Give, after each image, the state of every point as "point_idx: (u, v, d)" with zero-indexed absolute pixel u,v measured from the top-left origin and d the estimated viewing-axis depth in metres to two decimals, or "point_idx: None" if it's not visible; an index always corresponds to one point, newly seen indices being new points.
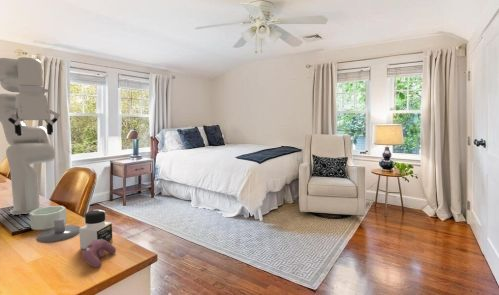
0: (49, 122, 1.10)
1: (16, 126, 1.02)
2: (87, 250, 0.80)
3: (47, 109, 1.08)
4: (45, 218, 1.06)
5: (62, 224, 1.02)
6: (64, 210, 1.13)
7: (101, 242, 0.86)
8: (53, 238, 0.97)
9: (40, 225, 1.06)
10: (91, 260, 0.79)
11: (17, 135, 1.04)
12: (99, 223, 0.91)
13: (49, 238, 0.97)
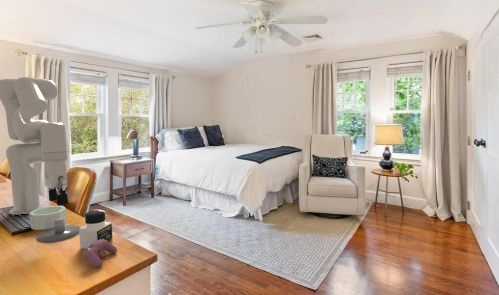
0: None
1: (65, 195, 0.98)
2: (88, 250, 0.80)
3: None
4: (45, 218, 1.06)
5: (62, 224, 1.02)
6: (64, 210, 1.13)
7: (102, 242, 0.86)
8: (53, 238, 0.97)
9: (40, 225, 1.06)
10: (92, 260, 0.79)
11: (59, 205, 0.97)
12: (99, 223, 0.91)
13: (49, 238, 0.97)
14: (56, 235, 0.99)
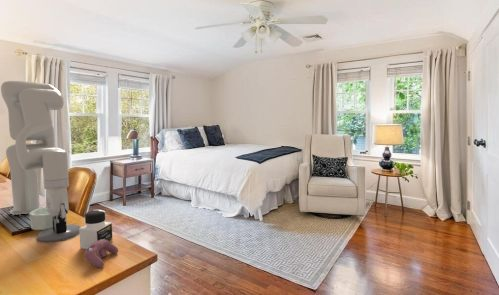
0: (61, 215, 1.04)
1: (64, 223, 1.01)
2: (90, 250, 0.80)
3: None
4: (45, 218, 1.06)
5: None
6: None
7: (103, 242, 0.86)
8: (53, 237, 0.97)
9: (40, 225, 1.06)
10: (93, 260, 0.79)
11: (58, 233, 1.00)
12: (99, 223, 0.91)
13: (49, 237, 0.97)
14: (56, 234, 0.99)
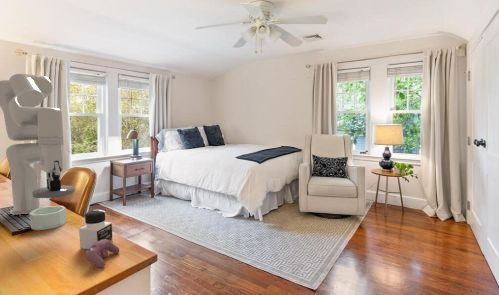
0: None
1: (58, 181, 1.02)
2: (91, 250, 0.80)
3: None
4: (45, 218, 1.06)
5: None
6: (64, 210, 1.13)
7: (105, 242, 0.86)
8: (47, 194, 0.98)
9: (40, 225, 1.06)
10: (95, 260, 0.79)
11: None
12: (99, 223, 0.91)
13: (43, 194, 0.97)
14: (50, 192, 1.00)
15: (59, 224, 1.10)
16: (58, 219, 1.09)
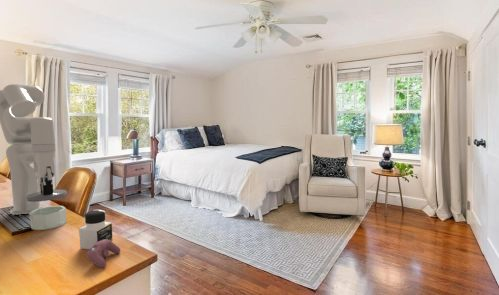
0: None
1: (50, 186, 1.09)
2: (92, 250, 0.80)
3: None
4: (45, 218, 1.06)
5: None
6: (64, 210, 1.13)
7: (106, 242, 0.86)
8: (40, 197, 1.05)
9: (40, 225, 1.06)
10: (96, 260, 0.79)
11: None
12: (99, 223, 0.91)
13: (36, 197, 1.04)
14: (43, 195, 1.07)
15: (59, 224, 1.10)
16: (58, 219, 1.09)
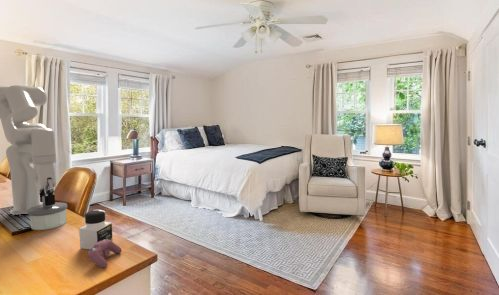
0: None
1: (52, 196, 1.08)
2: (93, 250, 0.80)
3: None
4: (45, 218, 1.06)
5: None
6: (64, 210, 1.13)
7: (107, 242, 0.86)
8: (41, 212, 1.05)
9: (40, 225, 1.06)
10: (97, 260, 0.79)
11: (46, 205, 1.07)
12: (99, 223, 0.91)
13: (37, 212, 1.05)
14: (44, 209, 1.08)
15: (59, 224, 1.10)
16: (58, 219, 1.09)
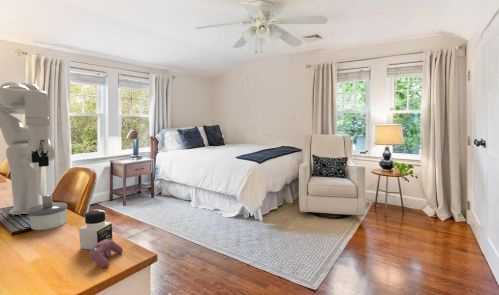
0: None
1: (46, 157, 1.07)
2: (95, 250, 0.81)
3: None
4: (45, 218, 1.06)
5: (50, 200, 1.10)
6: (64, 210, 1.13)
7: (108, 242, 0.86)
8: (41, 212, 1.05)
9: (40, 225, 1.06)
10: (99, 260, 0.79)
11: (40, 166, 1.06)
12: (99, 223, 0.91)
13: (37, 212, 1.05)
14: (44, 209, 1.08)
15: (59, 224, 1.10)
16: (58, 219, 1.09)
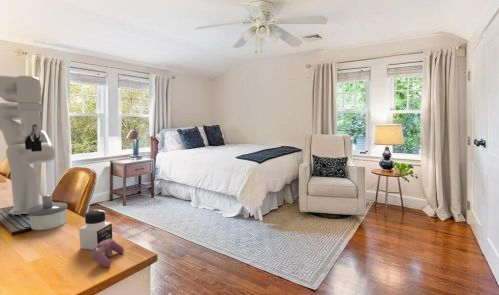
0: (33, 137, 1.14)
1: (38, 142, 1.08)
2: (96, 250, 0.81)
3: None
4: (45, 218, 1.06)
5: (50, 200, 1.10)
6: (64, 210, 1.13)
7: (110, 242, 0.86)
8: (41, 212, 1.05)
9: (40, 225, 1.06)
10: (100, 260, 0.80)
11: (33, 151, 1.07)
12: (99, 223, 0.91)
13: (37, 212, 1.05)
14: (44, 209, 1.08)
15: (59, 224, 1.10)
16: (58, 219, 1.09)
